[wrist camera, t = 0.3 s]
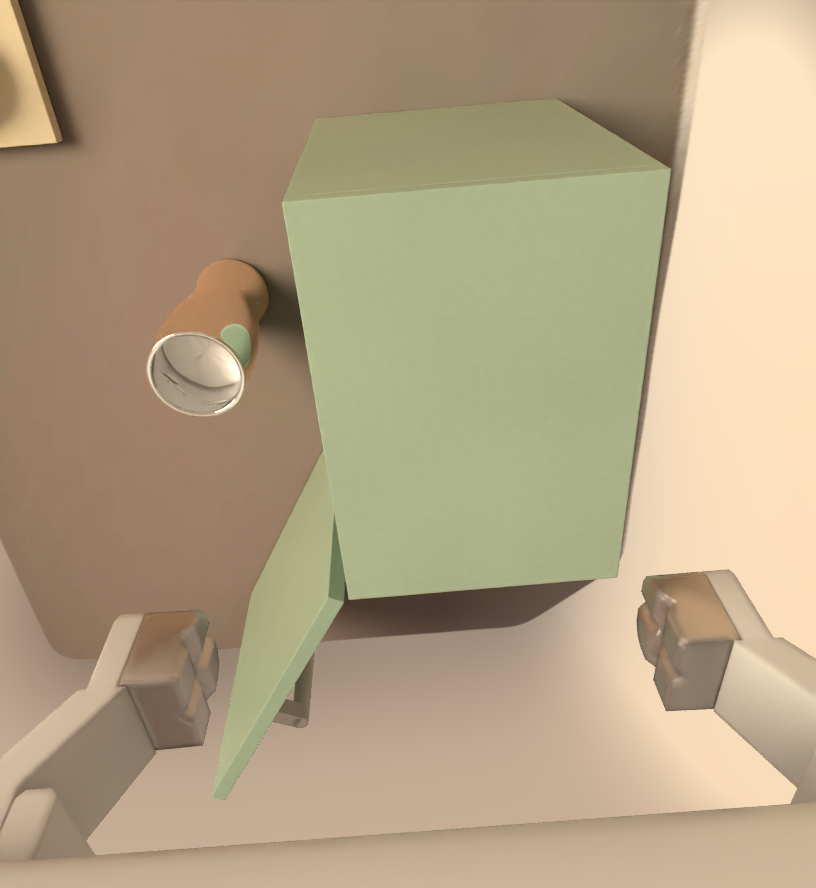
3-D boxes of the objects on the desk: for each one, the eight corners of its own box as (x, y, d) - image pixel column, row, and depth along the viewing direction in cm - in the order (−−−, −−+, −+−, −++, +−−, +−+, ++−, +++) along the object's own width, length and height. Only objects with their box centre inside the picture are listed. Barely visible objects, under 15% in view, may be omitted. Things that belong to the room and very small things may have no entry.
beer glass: (250, 345, 62) (219, 436, 49) (177, 304, 59) (125, 389, 47) (289, 282, 59) (267, 363, 46) (213, 237, 56) (169, 308, 44)
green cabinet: (355, 414, 66) (348, 600, 46) (316, 118, 52) (281, 202, 32) (543, 398, 66) (617, 577, 46) (555, 97, 52) (672, 168, 32)
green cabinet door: (406, 439, 68) (421, 625, 48) (309, 610, 80) (289, 814, 61) (340, 414, 66) (327, 597, 46) (251, 593, 78) (211, 798, 59)
